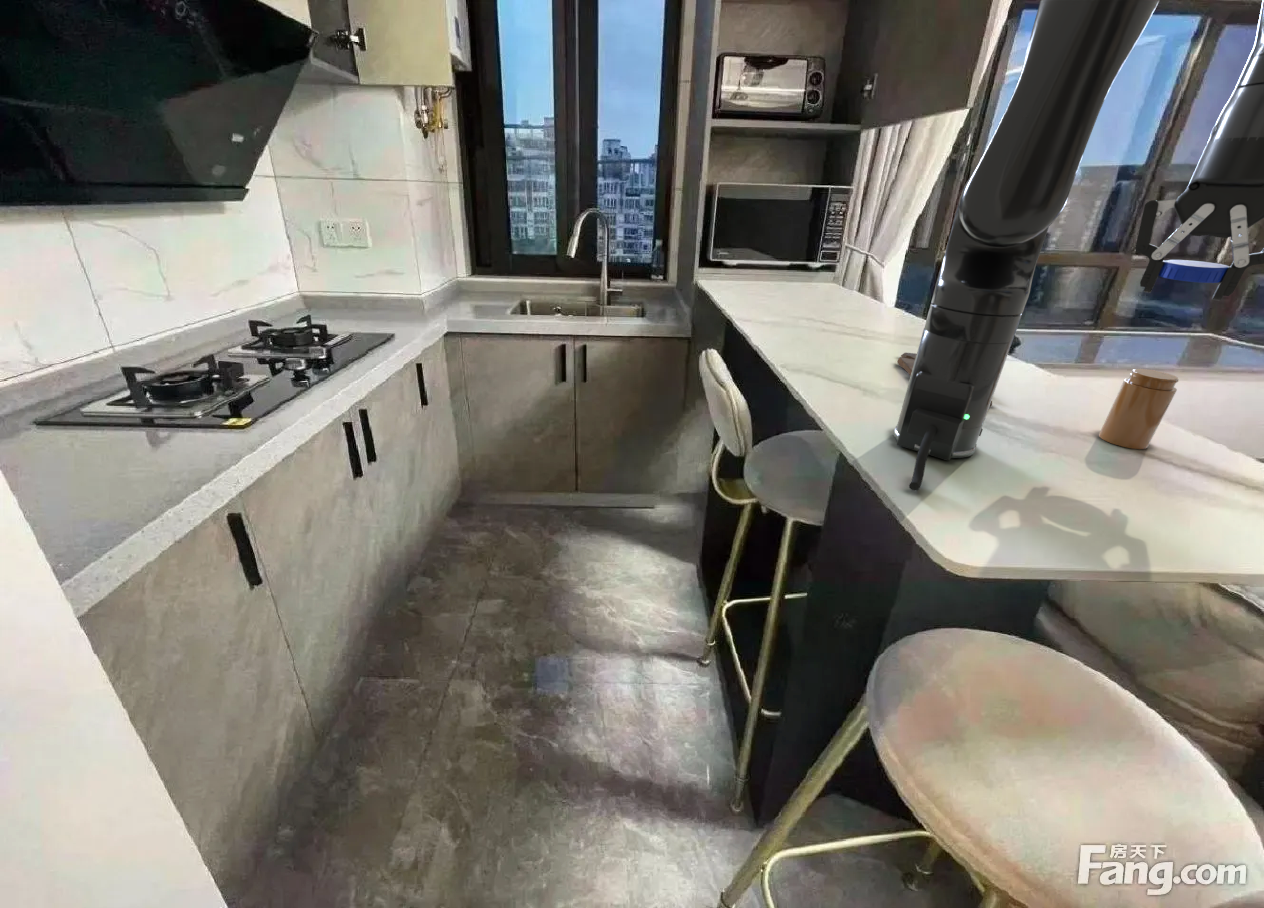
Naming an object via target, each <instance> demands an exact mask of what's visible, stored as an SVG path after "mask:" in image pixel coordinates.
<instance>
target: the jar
mask: <svg viewBox="0 0 1264 908" xmlns="http://www.w3.org/2000/svg"><path fill="white" fill-rule="evenodd" d="M1178 382H1179V377H1177V376H1176V375H1174V374H1171V373H1167V372H1164V371H1160V370H1153V369H1146V368H1135V369H1132V372H1130V373H1129V378H1125V379H1124V380H1123V382H1122V384H1121V386H1120V388H1119V390H1118V392H1117V395H1116V397H1115V399H1114V401H1113V403H1112V406H1111V408H1110V410H1109V412H1108V413H1107V416H1106V418H1105V420H1104V423H1103V424H1102V427H1101V429H1100V431H1099V433H1098V438H1100V439H1101V440H1103V441H1105V442H1107V443H1110V444H1112V445H1116V446H1119V447H1122V448H1127V449H1133V450H1146V449H1147V448H1149V445H1150V444H1151V442H1152V439H1153V438H1154V436H1155V434H1156V431H1157V430H1158V428H1159V426H1160V424H1161V422H1162V420H1163V418H1164V416H1165V415H1166V413H1167V411H1168V409H1169V407H1170V405H1171V403H1172V400H1174V397H1175V395H1176V393H1177V391H1178V389H1177V388H1176V387H1175V385H1176V384H1177V383H1178Z"/></svg>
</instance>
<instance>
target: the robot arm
mask: <svg viewBox="0 0 1264 908" xmlns="http://www.w3.org/2000/svg"><path fill="white" fill-rule="evenodd" d="M1160 1H1161V0H1040V1H1039V5H1038V8H1037V12H1036V15H1035V19H1034V22H1033V26H1032V29H1031V33H1030V37H1029V41H1028V45H1027V48H1026V52H1025V55H1024V56H1025V57H1024V61H1023V64H1022V68H1021V71H1020V74H1019V77H1018V80H1017V83H1016V84H1015V88H1014V90H1013V92H1012V95H1011V97H1010V99H1009V101H1008V104H1007V106H1006V108H1005V110H1004V112H1003V114H1002V116H1001V119H1000V120H999V122H998V124H997V127H996V128H995V131H994V132H993V135H992V137H991V138H990V141H989V143H988V145H987V147H986V149H985V150H984V153H983V154H982V156H981V158H980V159H979V162H978V163H977V166H976V167H975V169H974V171H972V173H971V175H970V177H969V178H968V180H967V181H966V183H965V184H964V187H963V189H962V192H961V194H960V197H959V201H958V203H957V208H956V210H955V211H956V212H955V215H954V219H953V222H952V227H951V230H950V233H949V236H948V240H947V244H946V248H945V253H944V255H943V259H942V261H941V264H940V269H939V272H938V275H937V280H936V283H935V287H934V290H933V294H932V298H931V302H930V306H929V309H928V312H927V317H926V319H925V323H924V327H923V330H922V334H921V337H920V341H919V344H918V348H917V352H916V354H917V355H916V359H915V362H914V366H913V369H912V373H911V376H910V375H909V376H910V377H909V380H908V384H907V388H906V391H905V394H904V397H903V398H904V399H903V402H902V405H901V409H900V413H899V416H898V420H897V424H896V426H895V428H894V432H893V437H894V439H895V440H896V445H897V446H898V447H902V448H906V449H909V450H912V451H915V452H917V455H916V458H915V463H914V469H913V473H912V478H911V481H910V482H909V485H908V486H909V487H908V488H909V489H910V490H911V491H914V492H915V491H918V490H919V489H920V488H921V485H922V483H923V480H924V475H925V469H926V464H927V459H928V456H931V457H935V458H938V459H941V460H944V461H950V460H951V459H961V458H962V459H963V458H967V457H971V456H972V455H974V453H975V451H976V448H977V443H978V441H979V438H980V437H981V435H982V433H983V430H984V429H983V426H984V423H985V420H986V417H987V414H988V412H989V409H990V407H989V406H990V403H991V401H993V397H994V394H995V392H996V388H997V386H998V383H999V380H1000V378H1001V374H1002V372H1003V369H1004V366H1005V363H1006V360H1007V357H1008V355H1009V352H1010V349H1011V347H1012V345H1013V342H1014V341H1013V340H1014V338H1015V335H1016V333H1017V331H1018V327H1019V325H1020V322H1021V319H1022V316H1023V313H1024V311H1025V308H1026V305H1027V302H1028V300H1029V297H1030V294H1031V290H1032V289H1031V288H1032V282H1033V278H1034V274H1035V271H1036V266H1037V264H1038V263H1037V262H1038V260H1039V257H1040V255H1041V251H1042V248H1043V246H1044V244H1045V243H1044V242H1045V239H1046V237H1047V233H1048V231H1049V228H1050V226H1052V224H1053V223H1054V222H1055V221H1056V219H1057V218H1058V217H1059V216H1060V215H1061V213H1062V211H1063V209H1064V208H1065V206H1066V204H1067V201H1068V199H1069V196H1070V193H1071V190H1072V188H1073V184H1074V181H1075V179H1076V176H1077V173H1078V170H1079V168H1080V164H1081V162H1082V159H1083V156H1084V154H1085V150H1086V148H1087V145H1088V143H1089V140H1090V138H1091V135H1092V132H1093V130H1094V127H1095V125H1096V122H1097V119H1098V116H1099V114H1100V112H1101V110H1102V107H1103V105H1104V103H1105V100H1106V98H1107V96H1108V94H1109V92H1110V90H1111V88H1112V85H1113V83H1114V81H1115V80H1116V78H1117V76H1118V74H1119V73H1120V71H1121V69H1122V68H1123V66H1124V64H1125V62H1126V60H1127V59H1128V57H1129V56H1130V54H1131V52H1132V50H1133V49H1134V47H1135V45H1136V44H1137V42H1138V40H1139V39H1140V37H1141V35H1142V34H1143V32H1144V30H1145V28H1146V27H1147V25H1148V23H1149V21H1150V19H1151V17H1152V16H1153V13H1154V12H1155V10H1156V8H1157V6H1158V5H1159V3H1160ZM1259 13H1260V14H1259V19H1258V23H1257V29H1256V36H1255V40H1254V44H1253V47H1252V50H1251V52H1250V54H1249V56H1248V59H1247V61H1246V64H1245V65H1244V68H1243V70H1242V72H1241V74H1240V76H1239V79H1238V81H1237V83H1236V85H1235V88H1234V90H1233V91H1232V93H1231V95H1230V97H1229V99H1228V101H1227V102H1226V104H1225V105H1224V106H1223V109H1222V110H1221V112H1220V114H1219V116H1218V117H1217V120H1216V122H1215V124H1214V125H1213V127H1212V129H1211V131H1210V136H1209V138H1208V141H1207V143H1206V145H1205V147H1204V149H1203V151H1202V154H1201V156H1200V157H1199V160H1198V163H1197V165H1196V167H1195V170H1194V171H1193V173H1192V176H1191V178H1190V180H1189V182H1188V185H1187V186H1186V189H1185V190H1184V191H1183V192H1182V193H1181V194H1180V195H1179V196H1177V198H1173V199H1165V200H1156V199H1152V200H1151V199H1150V200H1149V201H1147V202H1146V203H1145V204H1144V206H1143V211H1142V216H1141V221H1140V225H1139V230H1138V234H1137V239H1136V242H1135V247H1134V251H1135V252H1136V253H1137V254H1140V255H1143V256H1145V257H1147V258H1148V259H1149V261H1148V264H1147V266H1146V268H1145V270H1144V273H1143V274H1142V277H1141V279H1140V282H1139V284H1140V288H1141V287H1142V288H1144V290H1143V293H1149V294H1150V293H1152V291H1153V288H1154V287H1155V284H1156V282H1157V280H1158V277H1159V276H1158V275H1159V273H1160V271H1161V269H1162V266H1163V264H1164V262H1165V258H1166V256H1167V255H1168V254H1169V253H1170V252H1171V251H1172V250H1173V249H1174V248H1176V246H1177V245H1179V244H1180V243H1181V242H1182V241H1183V240H1184V239H1185V238H1186V237H1187V236H1188V235H1190V236H1192V237H1204V236H1212V237H1215V238H1220V239H1221V238H1223V239H1228V238H1230V245H1231V246H1230V247H1231V256H1232V258H1231V259H1232V262H1231V264H1230V266H1229V265H1228V266H1229V267H1228V269H1227V271H1226V273H1225V275H1224V277H1223V279H1222V281H1221V282H1219V283H1218V285H1217V287H1216V288H1215V291H1214V293H1213V295H1212V296H1211V300H1212V301H1218V302H1219V301H1221V300H1222V298H1223V297H1230V296H1231V295H1232V294H1233V293H1234V292H1235V290H1236V288H1237V286H1238V284H1239V282H1240V281H1241V278H1242V276H1243V275H1244V272H1245V271H1246V269H1247V268H1250V267H1252V266H1257V265H1262V264H1264V248H1262V250H1261V251H1260V252H1254V253H1253V252H1252V253H1250V248H1249V247H1250V246H1249V245H1250V244H1249V243H1250V242H1249V229H1250V228H1251V227H1253V226H1254V225H1256V224H1257V223H1259V222H1260V221H1262V220H1263V219H1264V0H1262V2H1261V8H1260V12H1259ZM1170 209H1174V210H1175V212H1176V215H1177V217H1178V220H1179V222H1180V224H1181V225H1180V226H1179V227H1178V228H1176V230H1175V231H1174V232H1173V233H1171V235H1170V236H1169V237H1167V238H1166V239H1165V240H1164V241H1163V242H1162V243H1161V244H1160V245H1159V246H1157V245H1154V244H1152V243H1151V241H1152V237H1153V234H1154V229H1155V224H1156V220H1161V219H1162V218H1164V217H1165V216H1166V214H1167V212H1168V211H1169V210H1170Z"/></svg>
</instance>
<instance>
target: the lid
mask: <svg viewBox="0 0 1264 908" xmlns="http://www.w3.org/2000/svg"><path fill="white" fill-rule="evenodd" d="M1164 261H1165V262H1164V264H1163V266H1162V269H1161V271H1160V273H1159V275H1158V277H1161V278H1163V279H1169V280H1174V281H1180V282H1190V283H1199V284H1201V283H1204V284H1219V283H1220V282H1221V281H1222V279H1223V277H1224V275H1225V273H1226V271H1227V269H1228V267H1229V265H1227V264H1221V263H1217V262H1210V261H1200V260H1190V259H1189V260H1187V259H1164Z"/></svg>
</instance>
